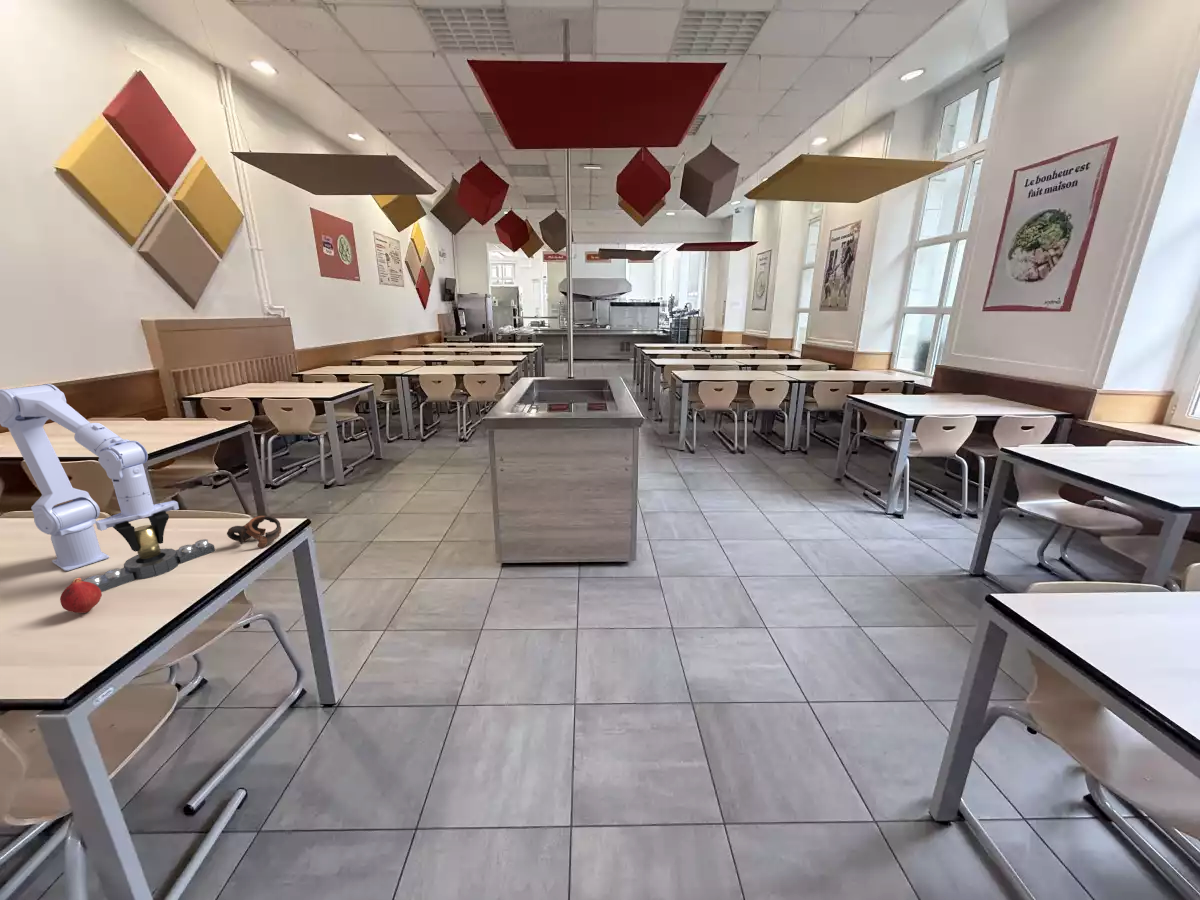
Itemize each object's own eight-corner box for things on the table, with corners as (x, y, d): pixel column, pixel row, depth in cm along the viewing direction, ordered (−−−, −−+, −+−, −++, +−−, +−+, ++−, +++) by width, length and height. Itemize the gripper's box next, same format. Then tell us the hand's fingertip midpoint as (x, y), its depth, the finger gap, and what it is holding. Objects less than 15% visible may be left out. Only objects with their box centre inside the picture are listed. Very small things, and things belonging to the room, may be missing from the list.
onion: (79, 622, 99) (68, 588, 96) (58, 619, 100) (46, 584, 97) (112, 606, 104) (102, 573, 102) (91, 603, 105) (81, 570, 103)
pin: (136, 555, 118) (129, 529, 116) (157, 549, 121) (150, 523, 119) (142, 560, 115) (134, 533, 114) (163, 553, 119) (156, 527, 117)
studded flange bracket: (78, 586, 111) (74, 575, 110) (201, 544, 131) (199, 534, 131) (95, 598, 107) (91, 586, 106) (219, 553, 127) (217, 542, 126)
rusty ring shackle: (275, 532, 141) (281, 511, 137) (279, 557, 135) (285, 536, 132) (223, 534, 132) (228, 512, 129) (225, 560, 127) (230, 538, 123)
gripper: (98, 507, 106) (115, 563, 109) (179, 487, 118) (191, 538, 122) (85, 501, 109) (102, 555, 113) (165, 482, 121) (178, 532, 125)
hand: (147, 546), depth 117 cm, fingers closed on pin, 4 cm apart
